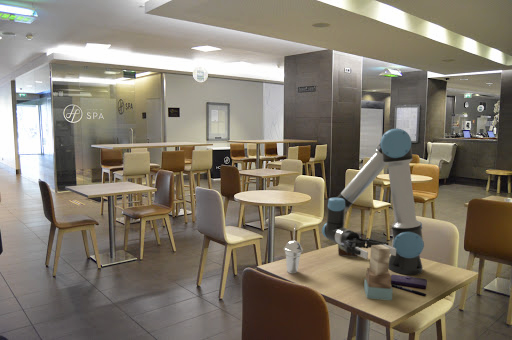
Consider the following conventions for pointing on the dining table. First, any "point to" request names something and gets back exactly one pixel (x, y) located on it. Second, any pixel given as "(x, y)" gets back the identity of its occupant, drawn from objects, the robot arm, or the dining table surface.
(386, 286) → the walnut block
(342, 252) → the food container
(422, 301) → the dining table surface
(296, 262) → the cup with straw
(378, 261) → the oak pillar
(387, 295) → the teal block
